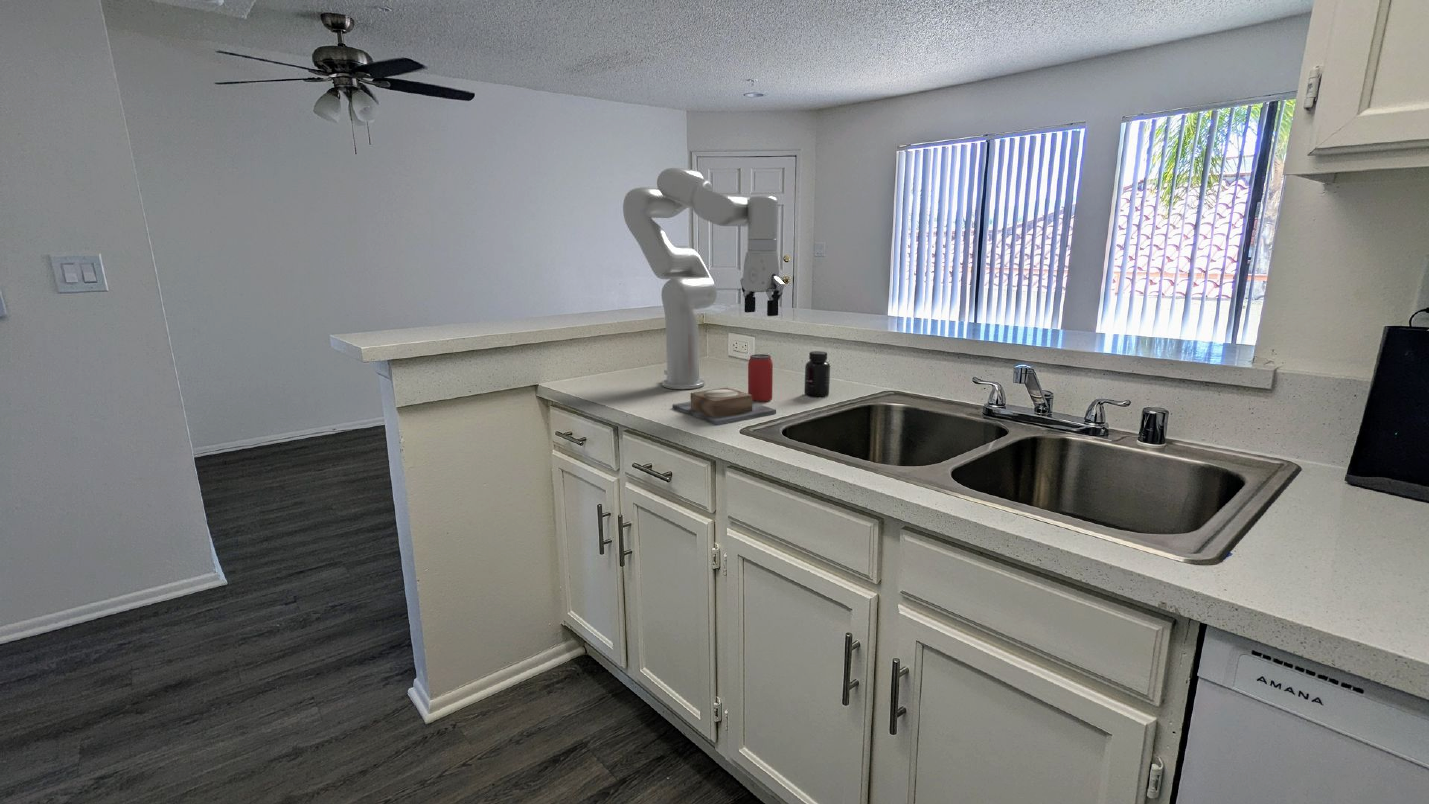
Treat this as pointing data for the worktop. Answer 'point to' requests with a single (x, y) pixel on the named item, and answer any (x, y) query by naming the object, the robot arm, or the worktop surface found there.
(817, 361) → the supplement bottle
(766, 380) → the beer can
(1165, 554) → the worktop surface
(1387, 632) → the worktop surface
